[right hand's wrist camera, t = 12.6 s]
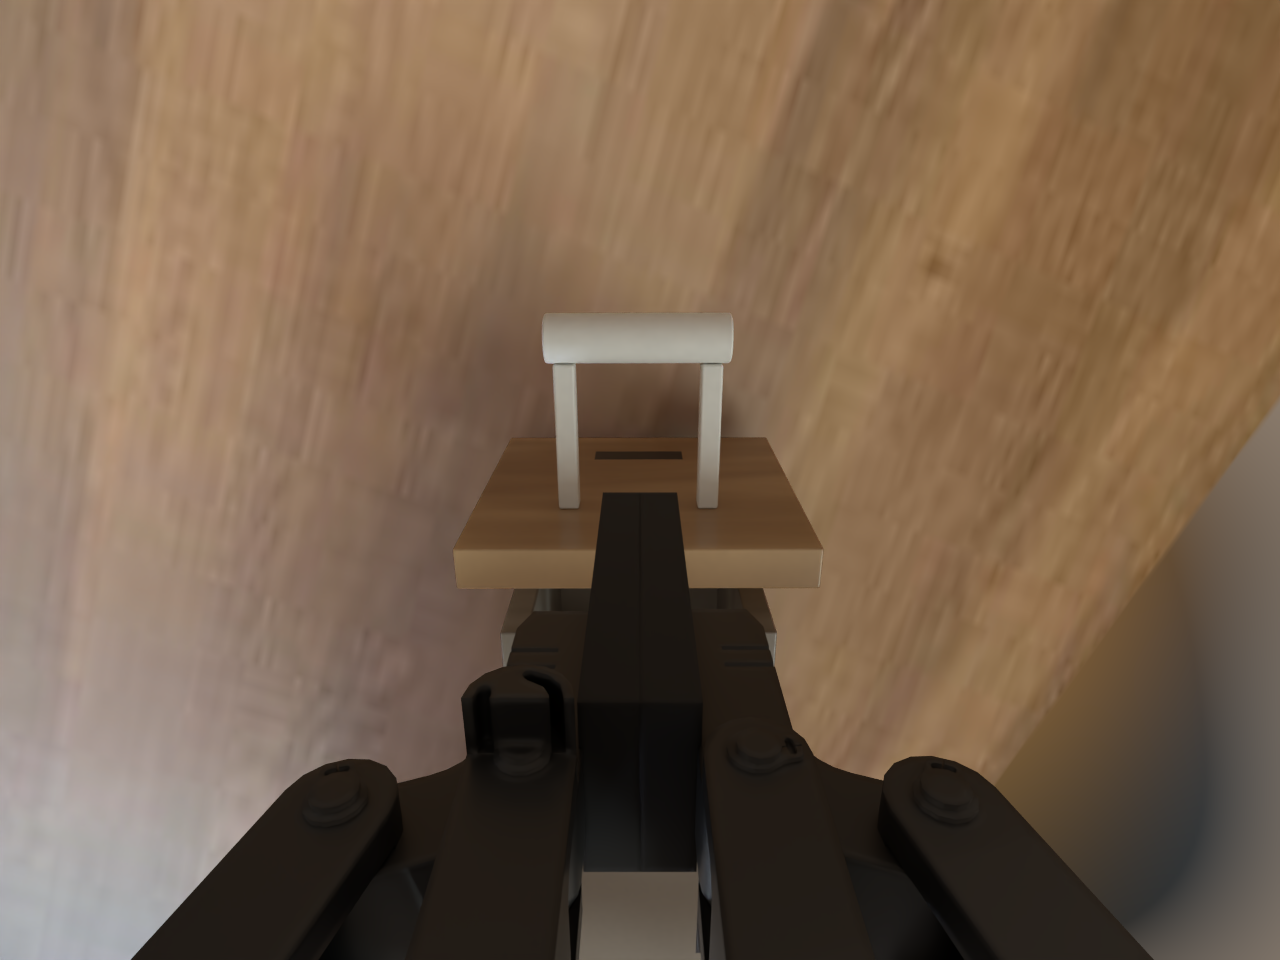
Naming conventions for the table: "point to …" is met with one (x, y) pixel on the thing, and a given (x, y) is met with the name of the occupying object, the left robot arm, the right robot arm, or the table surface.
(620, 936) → the cabinet
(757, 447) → the drawer
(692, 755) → the right robot arm
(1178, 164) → the table surface
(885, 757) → the table surface
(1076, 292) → the table surface
